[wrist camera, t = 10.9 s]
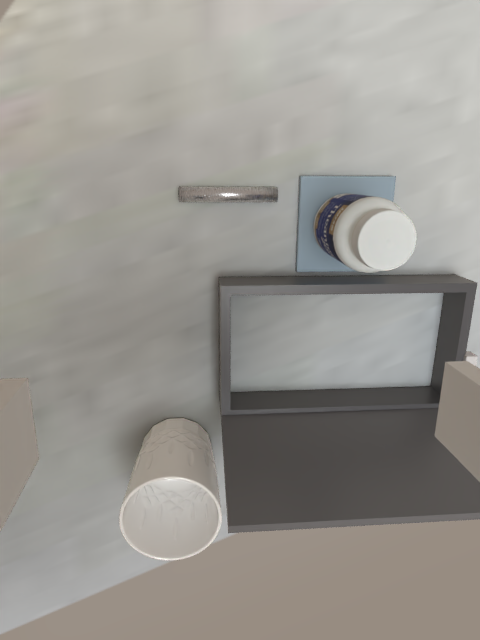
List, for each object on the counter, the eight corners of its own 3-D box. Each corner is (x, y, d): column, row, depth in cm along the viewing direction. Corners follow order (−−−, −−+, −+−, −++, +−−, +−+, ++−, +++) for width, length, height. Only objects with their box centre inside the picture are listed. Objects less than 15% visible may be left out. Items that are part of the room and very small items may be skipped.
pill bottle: (312, 193, 38) (348, 199, 29) (375, 192, 38) (431, 197, 29) (311, 258, 40) (345, 283, 30) (371, 256, 40) (423, 280, 31)
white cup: (226, 469, 46) (232, 546, 37) (150, 490, 46) (137, 571, 36) (205, 402, 44) (206, 465, 34) (125, 423, 44) (104, 492, 34)
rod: (179, 201, 38) (179, 202, 37) (179, 186, 37) (178, 186, 36) (275, 201, 38) (277, 202, 37) (275, 186, 38) (278, 187, 37)
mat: (295, 270, 40) (297, 271, 40) (299, 175, 38) (301, 175, 37) (383, 269, 41) (386, 271, 40) (393, 176, 39) (395, 176, 38)
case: (219, 424, 44) (228, 534, 31) (218, 276, 40) (228, 328, 26) (442, 416, 46) (543, 517, 33) (464, 274, 42) (592, 321, 28)
